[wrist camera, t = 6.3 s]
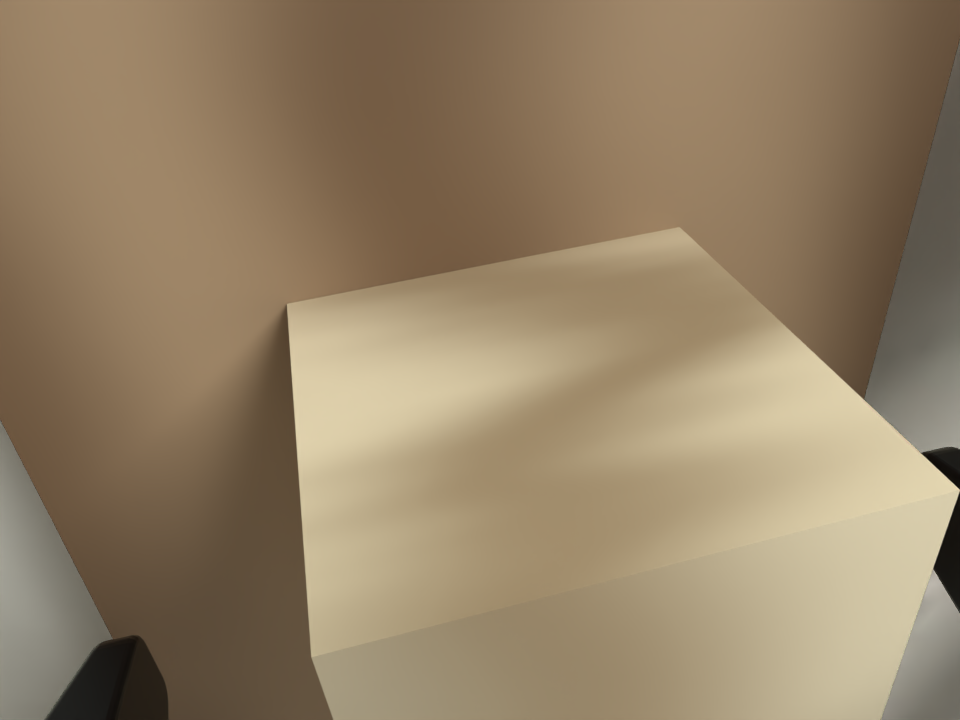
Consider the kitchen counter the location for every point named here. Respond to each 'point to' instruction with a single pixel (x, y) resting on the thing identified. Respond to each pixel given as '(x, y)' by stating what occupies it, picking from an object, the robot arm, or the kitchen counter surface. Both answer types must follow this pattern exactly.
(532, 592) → the beech cube
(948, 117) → the kitchen counter surface
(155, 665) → the robot arm
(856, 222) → the walnut block
